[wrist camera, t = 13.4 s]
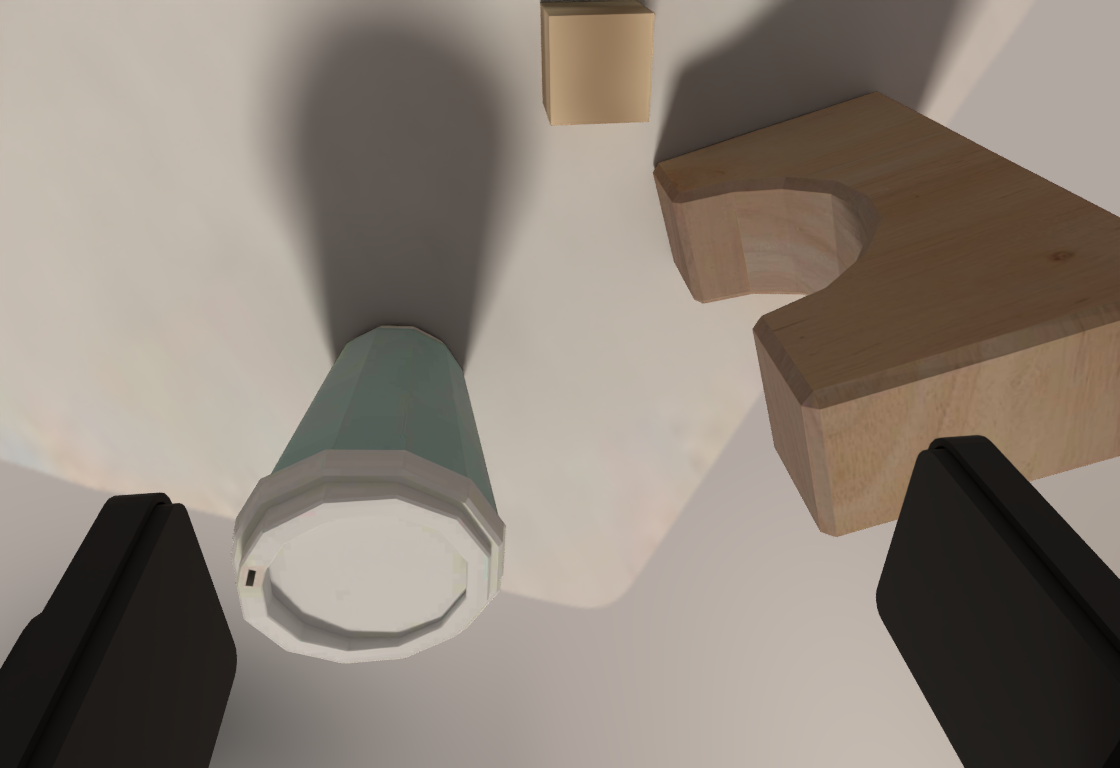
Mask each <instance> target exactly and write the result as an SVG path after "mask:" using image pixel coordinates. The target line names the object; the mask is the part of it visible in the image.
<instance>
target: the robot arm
mask: <svg viewBox="0 0 1120 768" xmlns="http://www.w3.org/2000/svg"><path fill="white" fill-rule="evenodd" d="M876 603H877V609H878V612H879V615H880V617H881V619H882V621H883V623H884V625H885V626H886V628H887V630H888V632H889V633H890V635H891V637H892V639H893V641H894V642H895V644H896V646H897V648H898V649H899V652H900V653H901V655H902V657H903V658H904V660H905V662H906V664H907V666H908V668H909V669H910V671H911V673H912V675H913V677H914V678H915V680H916V682H917V684H918V685H919V687H920V689H921V691H922V693H923V694H924V696H925V698H926V700H927V702H928V703H929V705H930V707H931V709H932V710H933V712H934V714H935V716H936V718H937V719H938V721H939V723H940V725H941V727H942V728H943V730H944V732H945V734H946V735H947V737H948V739H949V741H950V743H951V744H952V746H953V748H954V750H955V752H956V753H957V755H958V757H959V759H960V760H961V762H962V764H963V766H964V768H1120V579H1119V578H1118V577H1117V576H1116V575H1115V574H1114V573H1113V572H1112V570H1111V569H1110V568H1109V567H1108V566H1107V565H1106V564H1105V563H1104V562H1103V561H1102V560H1101V559H1100V558H1099V557H1098V555H1097V554H1096V553H1095V552H1094V551H1093V550H1092V549H1091V548H1090V547H1089V546H1088V545H1087V544H1086V543H1085V541H1084V540H1082V538H1081V537H1080V536H1079V535H1078V534H1077V533H1076V532H1075V531H1074V530H1073V529H1072V528H1071V526H1070V525H1069V524H1068V523H1067V522H1066V521H1065V520H1064V519H1063V518H1062V517H1061V516H1060V515H1059V514H1058V513H1057V511H1056V510H1055V509H1054V508H1053V507H1052V506H1051V505H1050V504H1049V503H1048V502H1047V501H1046V500H1045V499H1044V498H1043V496H1042V495H1041V494H1040V493H1039V492H1038V491H1037V490H1036V489H1035V488H1034V487H1033V486H1032V485H1031V483H1030V482H1029V481H1028V480H1027V479H1026V478H1025V477H1024V476H1023V475H1022V474H1021V473H1020V472H1019V471H1018V470H1017V468H1016V467H1015V466H1014V465H1013V464H1012V463H1011V462H1010V461H1009V460H1008V459H1007V458H1006V457H1005V456H1004V454H1003V453H1002V452H1001V451H1000V450H999V449H998V448H997V447H996V446H995V445H994V444H993V443H992V442H991V441H990V440H989V439H988V438H986V437H985V436H981V435H970V436H956V437H942V438H937V439H934V440H933V441H932V442H931V443H930V445H929V447H928V450H923V451H921V452H920V453H919V454H918V457H917V459H916V462H915V465H914V468H913V472H912V475H911V478H910V482H909V485H908V488H907V492H906V495H905V498H904V501H903V505H902V508H901V511H900V515H899V518H898V521H897V524H896V528H895V531H894V534H893V538H892V541H891V544H890V548H889V551H888V554H887V557H886V561H885V564H884V567H883V571H882V574H881V577H880V580H879V584H878V587H877V591H876ZM236 665H237V655H236V647H235V644H234V641H233V638H232V635H231V633H230V630H229V627H228V624H227V621H226V619H225V616H224V613H223V610H222V607H221V605H220V602H219V599H218V596H217V593H216V590H215V588H214V585H213V582H212V579H211V576H210V574H209V571H208V568H207V565H206V563H205V560H204V557H203V554H202V551H201V549H200V546H199V543H198V540H197V537H196V535H195V532H194V529H193V526H192V523H191V521H190V518H189V515H188V512H187V510H186V508H185V506H184V505H183V504H180V503H175V504H172V502H171V500H170V498H169V497H168V496H167V495H166V494H165V493H147V494H133V495H119V496H113V497H111V498H109V499H108V500H107V502H106V503H105V504H104V506H103V508H102V509H101V511H100V513H99V514H98V516H97V518H96V520H95V521H94V523H93V525H92V527H91V528H90V530H89V532H88V534H87V535H86V537H85V539H84V541H83V542H82V544H81V546H80V547H79V549H78V551H77V553H76V554H75V556H74V558H73V559H72V562H71V563H70V565H69V566H68V568H67V570H66V572H65V573H64V575H63V577H62V579H61V580H60V582H59V584H58V585H57V587H56V589H55V591H54V592H53V594H52V596H51V598H50V599H49V601H48V603H47V605H46V606H45V608H44V610H43V611H42V613H40V614H39V615H37V616H36V617H34V618H33V619H32V620H31V621H30V622H29V623H28V625H27V626H26V627H25V629H24V630H23V631H22V633H21V635H20V636H19V638H18V640H17V642H16V643H15V645H14V647H13V648H12V650H11V652H10V654H9V655H8V657H7V659H6V661H5V662H4V664H3V665H2V667H1V669H0V768H208V767H209V763H210V760H211V757H212V753H213V750H214V746H215V743H216V739H217V736H218V732H219V729H220V726H221V722H222V719H223V715H224V712H225V708H226V705H227V701H228V697H229V695H230V690H231V688H232V684H233V680H234V677H235V673H236Z"/></svg>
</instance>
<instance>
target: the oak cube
mask: <svg viewBox="0 0 1120 768" xmlns="http://www.w3.org/2000/svg"><path fill="white" fill-rule="evenodd" d="M540 6H541V51H542V97H543V105H544V108H545V110H546V113H547V116H548V119H549V122H550V125H577V124H603V123H629V122H649V117H650V96H651V76H652V56H653V36H654V16H655V13H654V12H652V11H651V10H649V9H648V8H646V7H645V6H644V5H642V4H641V3H639V2H638V1H636V0H617V1H578V2H540Z"/></svg>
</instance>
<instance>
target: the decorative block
mask: <svg viewBox="0 0 1120 768" xmlns="http://www.w3.org/2000/svg"><path fill="white" fill-rule="evenodd" d="M653 175H654V179H655V183H656V187H657V192H658V196H659V200H660V204H661V209H662V213H663V217H664V221H665V225H666V230H667V234H668V238H669V242H670V246H671V251H672V255H673V259H674V263H675V264H676V266H677V268H678V270H679V272H680V274H681V276H682V277H683V279H684V281H685V283H686V285H687V287H688V289H689V290H690V292H691V294H692V296H693V298H694V300H697V301H699V302H701V303H703V304H704V303H709V302H714V301H719V300H724V299H729V298H734V297H739V296H744V295H749V294H803V295H808V296H806V297H803V298H801V299H799V300H797V301H794V302H792V303H790V304H788V305H785V306H783V307H781V308H779V309H776V310H774V311H772V312H770V313H767V314H765V315H763V316H762V317H761V318H760V319H759V320H758V322H757V323H756V325H755V326H754V328H753V334H754V339H755V345H756V350H757V355H758V361H759V366H760V371H761V377H762V382H763V387H764V393H765V398H766V404H767V409H768V414H769V420H770V424H771V430H772V436H773V441H774V446H775V449H776V451H777V453H778V454H779V456H780V458H781V460H782V462H783V463H784V465H785V467H786V469H787V471H788V473H789V475H790V476H791V478H792V480H793V482H794V484H795V486H796V487H797V489H798V491H799V493H800V495H801V497H802V499H803V500H804V502H805V504H806V506H807V508H808V510H809V512H810V513H811V515H812V517H813V519H814V521H815V523H816V524H817V526H818V528H819V530H820V532H823V533H826V534H828V535H831V536H835V537H838V536H842V535H845V534H848V533H852V532H855V531H859V530H862V529H866V528H869V527H873V526H876V525H880V524H883V523H887V522H890V521H894V520H897V519H898V518H899V515H900V511H901V508H902V505H903V501H904V498H905V495H906V492H907V488H908V485H909V482H910V478H911V475H912V472H913V468H914V465H915V462H916V459H917V457H918V454H919V453H920V452H921V451H923V450H928V447H929V445H930V443H931V442H932V441H933V440H934V439H937V438H942V437H956V436H970V435H981V436H985V437H986V438H988V439H989V440H990V441H991V442H992V443H993V444H994V445H995V446H996V447H997V448H998V449H999V450H1000V451H1001V452H1002V453H1003V454H1004V456H1005V457H1006V458H1007V459H1008V460H1009V461H1010V462H1011V463H1012V464H1013V465H1014V466H1015V467H1016V468H1017V470H1018V471H1019V472H1020V473H1021V474H1022V475H1023V476H1024V477H1025V478H1026V479H1027V480H1028V481H1033V480H1036V479H1040V478H1043V477H1047V476H1050V475H1054V474H1057V473H1061V472H1064V471H1068V470H1072V469H1075V468H1079V467H1082V466H1086V465H1089V464H1093V463H1096V462H1100V461H1104V460H1107V459H1111V458H1114V457H1117V456H1120V218H1119V217H1118V216H1116V215H1114V214H1112V213H1110V212H1108V211H1106V210H1104V209H1103V208H1101V207H1098V206H1097V205H1095V204H1093V203H1091V202H1089V201H1087V200H1085V199H1083V198H1082V197H1080V196H1077V195H1076V194H1073V193H1071V192H1070V191H1068V190H1066V189H1064V188H1062V187H1060V186H1058V185H1056V184H1054V183H1052V182H1050V181H1048V180H1047V179H1045V178H1043V177H1041V176H1039V175H1037V174H1035V173H1033V172H1031V171H1029V170H1027V169H1025V168H1023V167H1021V166H1019V165H1017V164H1015V163H1013V162H1011V161H1009V160H1008V159H1006V158H1004V157H1002V156H1000V155H998V154H996V153H994V152H992V151H990V150H988V149H986V148H985V147H983V146H981V145H979V144H976V143H975V142H973V141H971V140H969V139H967V138H966V137H964V136H961V135H960V134H958V133H956V132H954V131H952V130H950V129H948V128H947V127H945V126H943V125H941V124H939V123H937V122H935V121H933V120H931V119H929V118H927V117H925V116H924V115H922V114H920V113H918V112H916V111H914V110H912V109H910V108H908V107H906V106H904V105H902V104H900V103H898V102H896V101H894V100H892V99H890V98H888V97H886V96H884V95H883V94H881V93H879V92H877V91H876V92H873V93H870V94H867V95H864V96H861V97H858V98H855V99H852V100H849V101H846V102H843V103H840V104H837V105H834V106H830V107H827V108H824V109H821V110H818V111H815V112H812V113H809V114H806V115H803V116H800V117H797V118H794V119H791V120H788V121H784V122H781V123H778V124H775V125H772V126H769V127H766V128H763V129H760V130H757V131H754V132H751V133H748V134H745V135H742V136H739V137H736V138H733V139H730V140H727V141H724V142H721V143H718V144H715V145H711V146H708V147H705V148H702V149H699V150H696V151H693V152H690V153H687V154H684V155H681V156H678V157H675V158H672V159H669V160H666V161H663V162H660V163H658V165H657V167H656V168H655V170H654V172H653Z"/></svg>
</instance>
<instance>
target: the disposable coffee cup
mask: <svg viewBox="0 0 1120 768" xmlns="http://www.w3.org/2000/svg"><path fill="white" fill-rule="evenodd" d="M505 534H506V525H505V524H504V522H503V521H502V520H501V518H500V517H499V516H498V512H497V508H496V504H495V500H494V496H493V492H492V488H491V484H490V480H489V476H488V472H487V468H486V464H485V459H484V455H483V451H482V447H481V443H480V439H479V435H478V431H477V427H476V423H475V419H474V415H473V411H472V407H471V403H470V399H469V395H468V390H467V386H466V382H465V378H464V374H463V370H462V369H461V367H460V366H459V364H458V363H457V361H456V360H455V358H454V357H453V355H452V354H451V352H450V351H449V349H448V348H447V347H446V345H445V344H443V342H442V341H441V340H439V339H437V338H435V337H433V336H432V335H430V334H428V333H426V332H424V331H422V330H420V329H418V328H416V327H414V326H379V327H377V328H375V329H373V330H371V331H369V332H367V333H365V334H363V335H361V336H359V337H356V338H354V340H352V341H350V342H348V343H347V344H346V346H345V347H344V349H343V350H342V352H341V354H340V355H339V357H338V359H337V360H336V362H335V363H334V365H333V367H332V368H331V370H330V372H329V373H328V375H327V377H326V379H325V380H324V382H323V384H322V386H321V387H320V389H319V391H318V393H317V394H316V396H315V398H314V400H313V401H312V403H311V405H310V407H309V408H308V410H307V412H306V414H305V415H304V417H303V419H302V421H301V422H300V424H299V426H298V428H297V429H296V431H295V433H294V435H293V436H292V438H291V440H290V442H289V443H288V445H287V447H286V449H285V450H284V452H283V454H282V456H281V457H280V459H279V461H278V463H277V464H276V466H275V468H274V469H273V471H272V473H271V474H270V475H268V476H266V477H264V478H262V479H260V480H259V482H258V484H257V485H256V487H255V488H254V490H253V492H252V493H251V495H250V497H249V498H248V500H247V501H246V503H245V505H244V506H243V508H242V510H241V511H240V513H239V514H238V516H237V518H236V522H235V528H234V533H233V548H232V553H231V558H232V562H233V567H234V572H235V576H236V586H237V591H238V595H239V599H240V604H241V609H242V613H243V618H244V619H245V620H246V621H247V622H248V623H250V624H251V625H252V626H254V627H255V628H256V629H258V630H259V631H261V632H262V633H263V634H264V635H266V636H267V637H269V638H270V639H271V640H273V641H274V642H275V643H277V644H278V645H279V646H281V647H282V648H283V649H285V650H286V651H290V652H294V653H299V654H303V655H308V656H313V657H317V658H322V659H326V660H330V661H335V662H339V663H355V662H367V661H378V660H390V659H401V658H406V657H408V656H411V655H413V654H415V653H418V652H420V651H422V650H425V649H427V648H429V647H432V646H434V645H436V644H439V643H441V642H443V641H446V640H448V639H450V638H453V637H455V636H457V635H458V634H459V633H460V632H462V631H464V630H465V629H466V628H467V627H468V626H469V625H470V624H471V623H472V622H473V620H474V619H475V618H476V617H477V616H478V615H479V614H480V613H481V612H482V610H483V609H484V608H485V607H486V606H487V605H488V604H489V603H490V601H491V600H492V599H493V598H494V597H495V596H496V595H497V594H498V592H499V591H500V585H501V577H502V575H503V568H504V551H505Z"/></svg>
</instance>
